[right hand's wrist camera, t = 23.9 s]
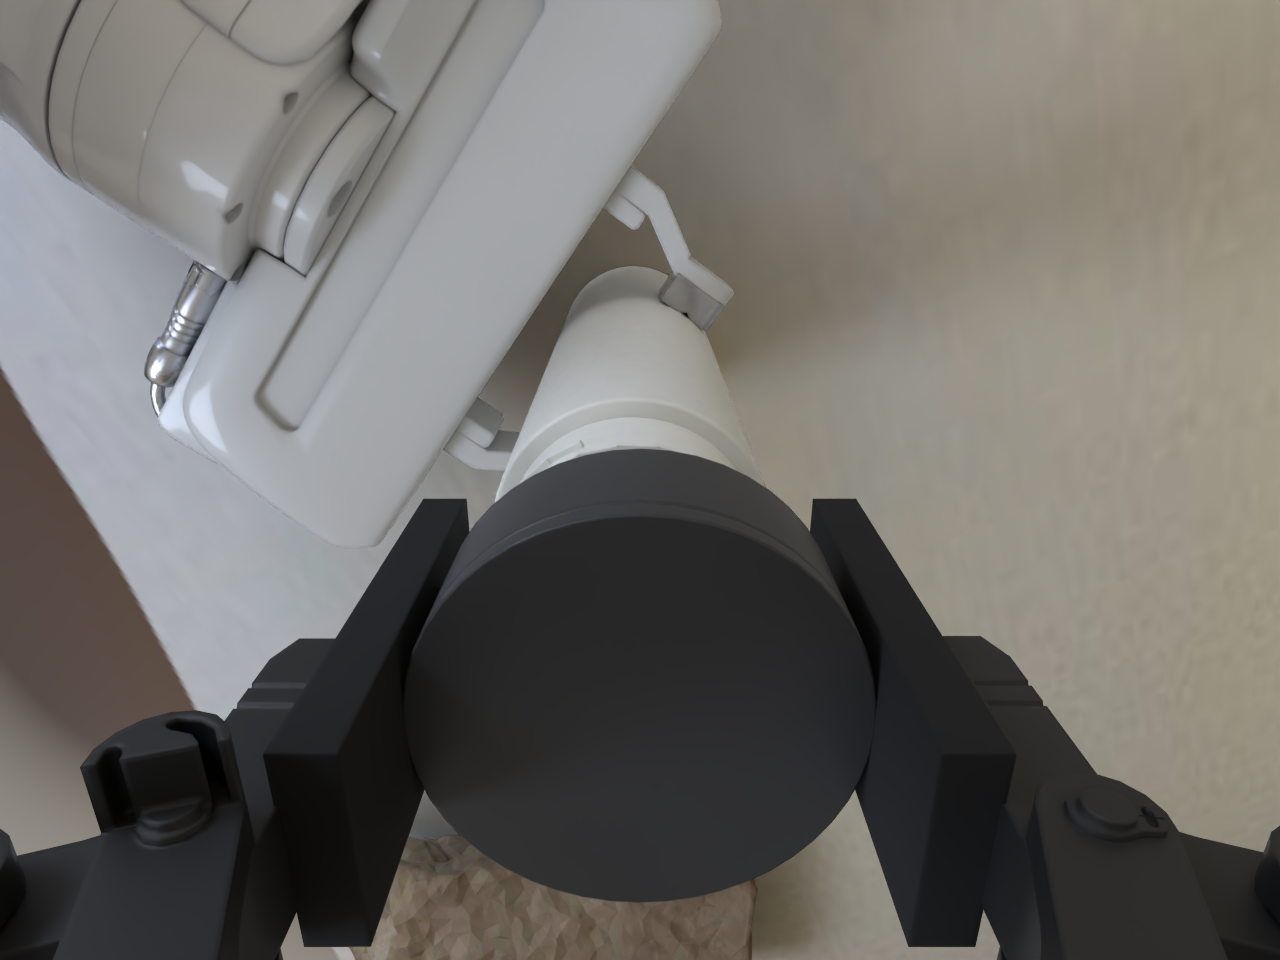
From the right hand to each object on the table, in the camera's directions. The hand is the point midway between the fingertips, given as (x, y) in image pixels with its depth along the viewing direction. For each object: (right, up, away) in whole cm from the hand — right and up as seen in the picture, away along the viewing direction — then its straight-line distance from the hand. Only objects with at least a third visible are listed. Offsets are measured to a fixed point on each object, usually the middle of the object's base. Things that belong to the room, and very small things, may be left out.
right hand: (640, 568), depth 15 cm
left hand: (0, +4, +12) cm, 12 cm away
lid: (0, -1, -4) cm, 4 cm away
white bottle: (0, +7, +18) cm, 19 cm away
